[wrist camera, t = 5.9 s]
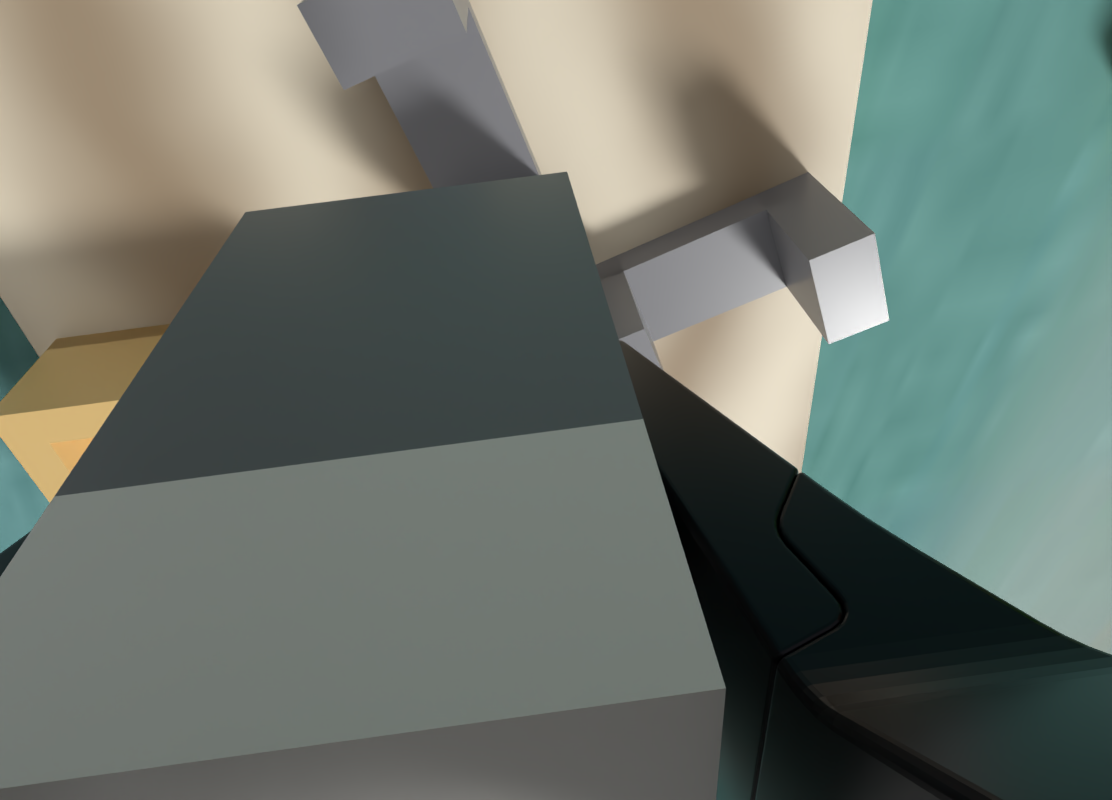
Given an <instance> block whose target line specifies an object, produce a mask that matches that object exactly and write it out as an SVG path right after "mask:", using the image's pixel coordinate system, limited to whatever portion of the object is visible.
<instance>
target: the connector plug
mask: <svg viewBox="0 0 1112 800" xmlns="http://www.w3.org/2000/svg"><path fill="white" fill-rule="evenodd" d="M725 693H726V687H725V683H724V680H723V677H722V674H721V670H720V667H719V664H718V661H717V657H716V654H715V651H714V648H713V644H712V641H711V638H710V635H709V631H708V628H707V625H706V622H705V618H704V615H703V612H702V609H701V605H700V602H699V599H698V596H697V592H696V589H695V586H694V583H693V579H692V576H691V573H690V570H689V566H688V563H687V560H686V557H685V553H684V550H683V547H682V544H681V540H680V537H679V534H678V531H677V527H676V524H675V521H674V518H673V514H672V511H671V508H670V505H669V501H668V498H667V495H666V492H665V488H664V485H663V482H662V479H661V475H660V472H659V469H658V466H657V462H656V459H655V456H654V453H653V449H652V446H651V443H650V440H649V436H648V433H647V430H646V427H645V423H644V420H643V417H642V414H641V410H640V407H639V404H638V401H637V397H636V394H635V391H634V388H633V384H632V381H631V378H630V375H629V371H628V368H627V365H626V362H625V358H624V355H623V352H622V349H621V345H620V342H619V339H618V336H617V332H616V329H615V326H614V323H613V319H612V316H611V313H610V310H609V306H608V303H607V300H606V297H605V293H604V290H603V287H602V284H601V280H600V277H599V274H598V271H597V267H596V264H595V261H594V258H593V254H592V251H591V248H590V245H589V241H588V238H587V235H586V232H585V228H584V225H583V222H582V219H581V215H580V212H579V209H578V206H577V202H576V199H575V196H574V193H573V189H572V186H571V183H570V180H569V176H568V173H567V172H560V173H552V174H544V175H536V176H528V177H520V178H512V179H504V180H496V181H488V182H480V183H472V184H464V185H456V186H448V187H440V188H432V189H424V190H416V191H408V192H400V193H392V194H384V195H376V196H368V197H361V198H353V199H345V200H337V201H329V202H321V203H313V204H305V205H297V206H289V207H281V208H273V209H265V210H257V211H249V212H245V213H244V215H243V216H242V218H241V219H240V221H239V222H238V224H237V225H236V227H235V228H234V230H233V231H232V233H231V234H230V236H229V237H228V239H227V240H226V242H225V243H224V245H223V246H222V248H221V249H220V251H219V252H218V254H217V255H216V257H215V258H214V260H213V261H212V263H211V264H210V266H209V267H208V269H207V270H206V272H205V273H204V274H203V276H202V277H201V279H200V280H199V282H198V283H197V285H196V286H195V288H194V289H193V291H192V292H191V294H190V295H189V297H188V298H187V300H186V301H185V303H184V304H183V306H182V307H181V309H180V310H179V312H178V313H177V315H176V316H175V318H174V319H173V321H172V322H171V324H170V325H169V327H168V328H167V330H166V331H165V332H164V334H163V335H162V337H161V338H160V340H159V341H158V343H157V344H156V346H155V347H154V349H153V350H152V352H151V353H150V355H149V356H148V358H147V359H146V361H145V362H144V364H143V365H142V367H141V368H140V370H139V371H138V373H137V374H136V376H135V377H134V379H133V380H132V382H131V383H130V385H129V386H128V388H127V389H126V391H125V392H124V393H123V395H122V396H121V398H120V399H119V401H118V402H117V404H116V405H115V407H114V408H113V410H112V411H111V413H110V414H109V416H108V417H107V419H106V420H105V422H104V423H103V425H102V426H101V428H100V429H99V431H98V432H97V434H96V435H95V437H94V438H93V440H92V441H91V443H90V444H89V446H88V447H87V449H86V450H85V451H84V453H83V454H82V456H81V457H80V459H79V460H78V462H77V463H76V465H75V466H74V468H73V469H72V471H71V472H70V474H69V475H68V477H67V478H66V480H65V481H64V483H63V484H62V486H61V487H60V489H59V490H58V492H57V493H56V495H55V496H54V498H53V499H52V501H51V502H50V504H49V505H48V507H47V508H46V510H45V511H44V512H43V514H42V515H41V517H40V518H39V520H38V521H37V523H36V524H35V526H34V527H33V529H32V530H31V532H30V533H29V535H28V536H27V538H26V539H25V541H24V542H23V544H22V545H21V547H20V548H19V550H18V551H17V553H16V554H15V556H14V557H13V559H12V560H11V562H10V563H9V565H8V566H7V568H6V569H5V571H4V572H3V573H2V575H1V576H0V800H716V794H717V782H718V771H719V760H720V749H721V738H722V727H723V716H724V704H725Z"/></svg>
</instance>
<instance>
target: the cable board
mask: <svg viewBox="0 0 1112 800" xmlns="http://www.w3.org/2000/svg"><path fill="white" fill-rule="evenodd" d="M302 1H303V0H0V297H1V299H2V300H3V302H4V303H5V305H6V306H7V308H8V309H9V311H10V312H11V314H12V315H13V317H14V319H15V320H16V322H17V323H18V325H19V326H20V328H21V329H22V331H23V332H24V334H25V336H26V337H27V339H28V340H29V342H30V343H31V345H32V346H33V348H34V349H35V351H36V353H37V354H38V356H39V357H41V355H42V354H43V353H44V352H45V351H46V350H47V349H48V348H49V346H50V345H51V344H52V343H53V342H54V341H55V340H56V339H58V338H66V337H73V336H81V335H89V334H96V333H104V332H112V331H119V330H127V329H135V328H142V327H150V326H158V325H165V324H171V322H172V321H173V319H174V318H175V316H176V315H177V313H178V312H179V310H180V309H181V307H182V306H183V304H184V303H185V301H186V300H187V298H188V297H189V295H190V294H191V292H192V291H193V289H194V288H195V286H196V285H197V283H198V282H199V280H200V279H201V277H202V276H203V274H204V273H205V272H206V270H207V269H208V267H209V266H210V264H211V263H212V261H213V260H214V258H215V257H216V255H217V254H218V252H219V251H220V249H221V248H222V246H223V245H224V243H225V242H226V240H227V239H228V237H229V236H230V234H231V233H232V231H233V230H234V228H235V227H236V225H237V224H238V222H239V221H240V219H241V218H242V216H243V215H244V213H245V212H249V211H257V210H265V209H273V208H281V207H289V206H297V205H305V204H313V203H321V202H329V201H337V200H345V199H353V198H361V197H368V196H376V195H384V194H392V193H400V192H408V191H416V190H424V189H432V188H433V187H432V185H431V183H430V181H429V179H428V177H427V175H426V173H425V171H424V169H423V167H422V166H421V164H420V162H419V160H418V158H417V156H416V154H415V152H414V150H413V148H412V146H411V144H410V142H409V141H408V139H407V137H406V135H405V133H404V131H403V129H402V127H401V125H400V123H399V121H398V119H397V118H396V116H395V114H394V112H393V110H392V108H391V106H390V104H389V102H388V100H387V98H386V96H385V95H384V93H383V91H382V89H381V87H380V85H379V83H378V81H377V79H376V77H375V76H374V77H371V78H369V79H367V80H365V81H363V82H361V83H359V84H356V85H354V86H352V87H350V88H348V89H346V90H343V88H342V86H341V84H340V82H339V81H338V79H337V77H336V75H335V73H334V72H333V70H332V68H331V66H330V64H329V63H328V61H327V59H326V57H325V55H324V54H323V52H322V50H321V48H320V46H319V45H318V43H317V41H316V39H315V37H314V36H313V34H312V32H311V30H310V28H309V26H308V25H307V23H306V21H305V19H304V17H303V16H302V14H301V12H300V10H299V8H298V7H297V5H298V4H299V3H300V2H302ZM469 2H470V4H471V6H472V9H473V11H474V14H475V16H476V18H477V21H478V23H479V26H480V28H481V30H482V33H483V35H484V37H485V40H486V42H487V45H488V47H489V49H490V52H491V54H492V57H493V59H494V61H495V64H496V66H497V69H498V71H499V73H500V76H501V78H502V81H503V83H504V85H505V88H506V90H507V93H508V95H509V97H510V100H511V102H512V105H513V107H514V109H515V112H516V114H517V117H518V119H519V121H520V124H521V126H522V129H523V131H524V133H525V136H526V138H527V141H528V143H529V145H530V148H531V150H532V153H533V155H534V157H535V160H536V162H537V165H538V167H539V169H540V172H541V174H542V175H544V174H552V173H560V172H567V173H568V176H569V180H570V183H571V186H572V189H573V193H574V196H575V199H576V202H577V206H578V209H579V212H580V215H581V219H582V222H583V225H584V228H585V232H586V235H587V238H588V241H589V245H590V248H591V251H592V254H593V258H594V261H595V264H599V263H601V262H603V261H605V260H608V259H610V258H612V257H615V256H617V255H619V254H621V253H624V252H626V251H628V250H631V249H633V248H635V247H637V246H640V245H642V244H644V243H647V242H649V241H651V240H653V239H656V238H658V237H660V236H663V235H665V234H667V233H670V232H672V231H674V230H676V229H679V228H681V227H683V226H686V225H688V224H690V223H692V222H695V221H697V220H699V219H702V218H704V217H706V216H708V215H711V214H713V213H715V212H718V211H720V210H722V209H724V208H727V207H729V206H731V205H734V204H736V203H738V202H741V201H743V200H745V199H747V198H750V197H752V196H754V195H757V194H759V193H761V192H763V191H766V190H768V189H770V188H773V187H775V186H777V185H779V184H782V183H784V182H786V181H789V180H791V179H793V178H796V177H798V176H800V175H802V174H805V173H807V172H809V173H810V174H811V175H812V176H813V177H814V178H815V179H816V180H818V181H819V182H820V183H821V184H822V185H823V186H824V187H825V188H826V189H827V190H828V191H829V192H831V193H832V194H833V195H834V196H835V197H836V198H837V199H838V200H839V201H840V202H841V203H842V199H843V192H844V185H845V179H846V172H847V165H848V159H849V152H850V146H851V139H852V132H853V126H854V119H855V112H856V106H857V99H858V93H859V86H860V79H861V73H862V66H863V59H864V53H865V46H866V40H867V33H868V26H869V20H870V13H871V6H872V0H469ZM821 338H822V334H821V333H820V331H819V330H818V329H817V327H816V326H815V325H814V323H813V322H812V321H811V319H810V318H809V316H808V315H807V314H806V312H805V311H804V310H803V308H802V307H801V306H800V304H799V303H798V301H797V300H796V299H795V297H794V296H793V295H792V293H791V292H790V291H789V289H788V288H787V287H785V288H783V289H780V290H778V291H775V292H773V293H770V294H768V295H766V296H763V297H761V298H758V299H756V300H753V301H751V302H748V303H746V304H744V305H741V306H739V307H736V308H734V309H731V310H729V311H726V312H724V313H722V314H719V315H717V316H714V317H712V318H709V319H707V320H705V321H702V322H700V323H697V324H695V325H692V326H690V327H687V328H685V329H683V330H680V331H678V332H675V333H673V334H670V335H668V336H665V337H663V338H661V339H658V340H656V341H653V343H654V345H655V348H656V351H657V353H658V356H659V359H660V361H661V364H662V367H663V370H664V371H665V372H666V373H668V374H669V375H670V376H672V377H673V378H675V379H676V380H677V381H679V382H680V383H681V384H683V385H684V386H685V387H687V388H688V389H690V390H691V391H692V392H694V393H695V394H696V395H698V396H699V397H700V398H702V399H703V400H705V401H706V402H707V403H709V404H710V405H711V406H713V407H714V408H715V409H717V410H718V411H720V412H721V413H722V414H724V415H725V416H726V417H728V418H729V419H730V420H732V421H733V422H735V423H736V424H737V425H739V426H740V427H741V428H743V429H744V430H745V431H747V432H748V433H750V434H751V435H752V436H754V437H755V438H756V439H758V440H759V441H760V442H762V443H763V444H765V445H766V446H767V447H769V448H770V449H771V450H773V451H774V452H775V453H777V454H778V455H780V456H781V457H782V458H784V459H785V460H786V461H788V462H789V463H790V464H792V465H793V466H795V467H796V468H797V469H798V472H799V473H801V470H802V464H803V457H804V450H805V444H806V437H807V430H808V424H809V417H810V411H811V404H812V397H813V391H814V384H815V377H816V371H817V364H818V358H819V351H820V344H821ZM799 473H798V474H799Z"/></svg>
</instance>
